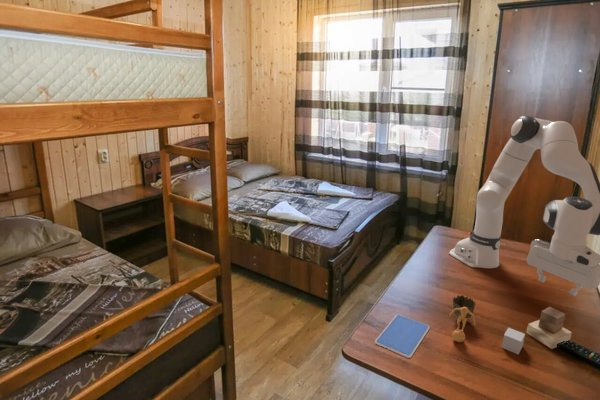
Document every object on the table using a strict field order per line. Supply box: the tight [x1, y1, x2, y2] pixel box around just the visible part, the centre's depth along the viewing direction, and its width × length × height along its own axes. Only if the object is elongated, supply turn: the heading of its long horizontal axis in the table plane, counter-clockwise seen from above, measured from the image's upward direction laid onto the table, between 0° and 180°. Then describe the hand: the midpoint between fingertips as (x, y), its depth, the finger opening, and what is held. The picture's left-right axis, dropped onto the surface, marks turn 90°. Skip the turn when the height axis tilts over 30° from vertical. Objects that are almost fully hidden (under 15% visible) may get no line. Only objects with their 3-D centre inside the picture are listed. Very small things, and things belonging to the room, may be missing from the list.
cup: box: [452, 295, 477, 323], centre depth 138 cm, size 8×7×8 cm
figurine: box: [448, 307, 476, 343], centre depth 127 cm, size 8×6×12 cm
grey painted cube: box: [501, 327, 526, 355], centre depth 124 cm, size 5×5×5 cm
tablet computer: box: [374, 314, 431, 359], centre depth 131 cm, size 19×13×1 cm, turn 144°
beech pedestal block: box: [525, 319, 573, 350], centre depth 129 cm, size 9×9×4 cm
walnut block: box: [538, 306, 566, 334], centre depth 128 cm, size 5×5×6 cm
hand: (556, 287), depth 124 cm, fingers open, 8 cm apart
